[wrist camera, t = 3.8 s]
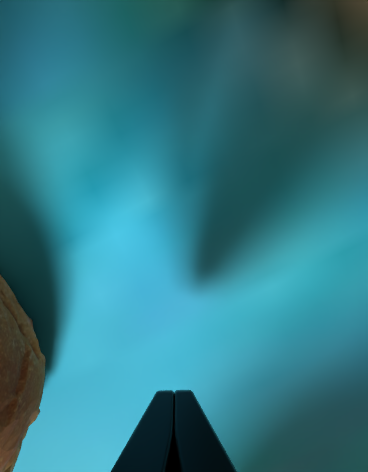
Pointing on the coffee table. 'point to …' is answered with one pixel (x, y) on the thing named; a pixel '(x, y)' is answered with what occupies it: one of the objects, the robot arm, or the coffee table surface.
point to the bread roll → (17, 376)
